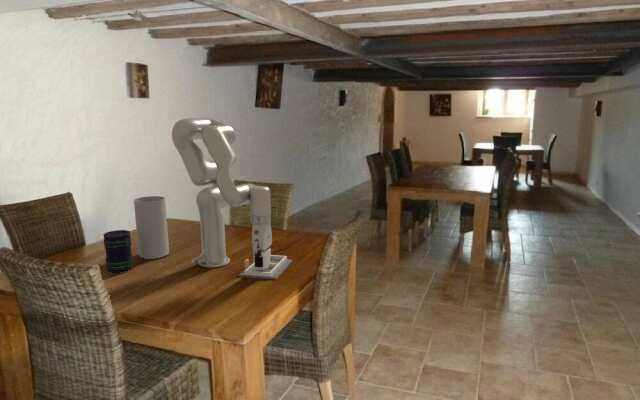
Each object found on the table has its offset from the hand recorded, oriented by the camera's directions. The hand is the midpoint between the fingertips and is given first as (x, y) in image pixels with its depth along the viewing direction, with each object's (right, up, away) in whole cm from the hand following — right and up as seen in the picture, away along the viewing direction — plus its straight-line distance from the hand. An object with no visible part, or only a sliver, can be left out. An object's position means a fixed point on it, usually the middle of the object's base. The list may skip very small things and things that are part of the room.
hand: (262, 263), depth 180 cm
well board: (+1, -3, +5) cm, 6 cm away
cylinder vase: (-50, 0, +23) cm, 55 cm away
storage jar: (-57, -3, +5) cm, 58 cm away
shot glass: (0, -1, 0) cm, 1 cm away
